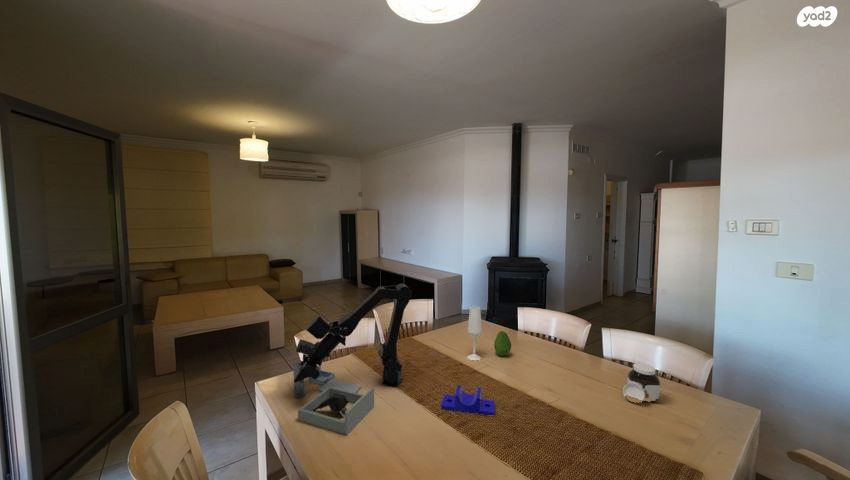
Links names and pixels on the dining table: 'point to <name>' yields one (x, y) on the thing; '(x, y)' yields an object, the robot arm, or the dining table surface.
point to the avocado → (502, 344)
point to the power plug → (335, 403)
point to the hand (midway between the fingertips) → (294, 379)
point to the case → (352, 415)
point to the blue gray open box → (322, 377)
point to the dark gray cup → (300, 384)
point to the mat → (340, 386)
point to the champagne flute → (474, 329)
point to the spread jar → (642, 382)
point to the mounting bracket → (468, 402)
